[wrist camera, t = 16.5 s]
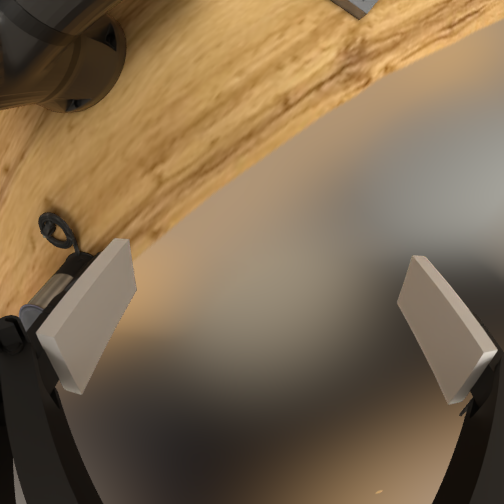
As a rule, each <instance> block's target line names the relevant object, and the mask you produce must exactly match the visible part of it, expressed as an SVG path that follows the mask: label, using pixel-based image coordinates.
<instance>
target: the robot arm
mask: <svg viewBox="0 0 504 504" xmlns="http://www.w3.org/2000/svg"><path fill="white" fill-rule="evenodd" d="M121 1H123V0H0V110H4V109H9V108H14V107H19V106H25V105H31V104H37V105H40V106H42V107H44V108H47V109H49V110H52V111H55V112H60V113H69V112H76V111H81V110H84V109H87V108H89V107H91V106H93V105H94V104H96V103H97V102H99V101H100V100H101V99H102V98H103V97H104V96H105V95H106V94H107V93H108V92H109V91H110V90H111V88H112V87H113V86H114V84H115V83H116V81H117V79H118V77H119V75H120V73H121V70H122V68H123V65H124V61H125V55H126V40H125V36H124V32H123V30H122V28H121V26H120V25H119V23H118V22H117V21H116V20H115V19H114V18H113V17H111V16H110V15H108V14H106V13H107V12H108V11H110V10H111V9H112V8H113V7H115V6H116V5H117V4H119V3H120V2H121ZM136 290H137V288H136V282H135V277H134V271H133V263H132V256H131V249H130V242H129V239H119V238H114V239H113V240H112V241H111V243H110V244H109V245H108V246H107V247H106V248H105V249H104V250H103V251H102V252H101V254H100V255H99V256H98V257H97V258H96V259H95V260H94V261H93V263H92V264H91V265H90V266H89V267H88V268H87V269H86V271H85V272H84V273H83V274H82V275H81V276H80V278H79V279H78V280H77V281H76V282H75V284H74V285H73V286H72V287H71V288H70V290H69V291H66V290H64V291H62V292H61V293H59V294H58V295H56V296H55V297H54V298H53V299H52V300H51V301H50V302H49V304H48V305H47V307H45V309H44V310H43V311H42V313H41V314H40V315H39V316H38V317H37V319H36V320H35V321H34V322H33V324H32V325H31V326H30V328H29V329H28V330H27V332H26V331H25V328H24V326H23V324H22V322H21V319H20V318H19V317H17V316H13V315H9V316H5V317H2V318H0V504H16V500H15V489H14V474H13V458H14V463H15V467H16V470H17V474H18V478H19V481H20V484H21V488H22V491H23V494H24V497H25V500H26V503H27V504H103V502H102V500H101V498H100V496H99V495H98V493H97V491H96V489H95V487H94V485H93V483H92V480H91V478H90V476H89V474H88V472H87V470H86V467H85V466H84V463H83V461H82V458H81V456H80V453H79V451H78V449H77V446H76V444H75V441H74V439H73V436H72V433H71V430H70V428H69V425H68V422H67V419H66V416H65V413H64V410H63V407H62V404H61V400H60V398H59V394H58V391H57V390H56V388H55V386H56V384H57V382H58V380H60V382H61V384H62V386H63V387H64V389H65V390H67V391H71V392H75V393H78V394H83V392H84V389H85V387H86V385H87V383H88V381H89V379H90V377H91V375H92V373H93V371H94V369H95V367H96V365H97V363H98V361H99V359H100V357H101V355H102V353H103V351H104V349H105V347H106V345H107V343H108V341H109V339H110V338H111V336H112V334H113V332H114V330H115V328H116V326H117V324H118V322H119V321H120V319H121V317H122V315H123V313H124V312H125V310H126V308H127V306H128V304H129V303H130V301H131V299H132V297H133V296H134V294H135V292H136ZM397 304H398V306H399V308H400V309H401V311H402V313H403V315H404V317H405V318H406V320H407V322H408V324H409V326H410V328H411V329H412V331H413V333H414V335H415V337H416V339H417V341H418V343H419V345H420V347H421V348H422V351H423V353H424V355H425V356H426V359H427V361H428V363H429V365H430V367H431V369H432V371H433V373H434V375H435V377H436V379H437V381H438V384H439V386H440V388H441V390H442V392H443V394H444V396H445V399H446V401H447V403H448V405H449V404H453V403H458V402H462V401H463V400H464V398H465V397H466V396H467V395H468V393H469V392H470V391H471V393H472V395H473V398H472V399H471V400H470V402H469V403H468V404H467V405H466V407H465V408H464V409H463V410H462V412H461V413H460V415H459V416H462V415H463V414H464V413H465V412H466V411H467V412H466V416H465V419H464V423H463V426H462V429H461V432H460V436H459V439H458V441H457V444H456V448H455V450H454V453H453V456H452V459H451V461H450V464H449V466H448V469H447V471H446V474H445V476H444V478H443V481H442V483H441V485H440V488H439V490H438V492H437V494H436V497H435V499H434V501H433V503H432V504H504V352H503V350H502V349H501V348H500V346H499V345H498V343H497V342H496V340H495V339H494V337H493V336H492V335H491V333H490V332H488V329H487V328H486V326H484V324H483V322H482V321H481V319H480V318H479V317H478V316H477V315H476V314H475V313H474V312H472V311H471V310H470V309H468V308H467V306H466V305H465V304H464V303H463V301H462V300H461V299H460V298H459V296H458V295H457V294H456V292H455V291H454V290H453V289H452V288H451V286H450V285H449V284H448V283H447V281H446V280H445V279H444V278H443V277H442V276H441V274H440V273H439V272H438V271H437V270H436V268H435V267H434V266H433V265H432V264H431V263H430V262H429V260H428V259H427V258H426V257H425V256H412V258H411V261H410V265H409V268H408V271H407V274H406V278H405V280H404V283H403V287H402V289H401V292H400V295H399V298H398V301H397Z"/></svg>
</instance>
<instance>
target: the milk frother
mask: <svg viewBox="0 0 504 504" xmlns="http://www.w3.org/2000/svg"><path fill="white" fill-rule="evenodd" d="M45 222H46V223H45ZM44 223H45V225H44ZM38 224H39V227H40V230H41V231H40V232H41V234H43V238H45V237H46V239H47V240H48V241H49V242H50V243H52V244H53V245H54V246H56V247H59V248H64V249H67V248H69V247H71V246H72V244H73V246H74V249H75V252H76V253H72V254H71V255H69V256H68V257H67V259H66V261H65V263H64V264H63V265H62V266H61V267H60V269H59V270H58V271H57V272H56V273H55V274H54V275H53V276H52V277H51V278H50V279H49V280H48V282H47V283H46V284H45V285H44V286H43V287H42V288H41V289H40V290H39V291H38V292H37V293H36V295H35V296H34V297H33V298H32V299H31V300H30V301H29V303H28V304H26V305H23V306H22V307H21V309H20V311H19V318H20V319H21V322H22V324H23V326H24V328H25V331H26V332H27V330H28V329H29V328H30V326H31V325H32V324H33V322H34V321H35V320H36V319H37V317H38V316H39V315H40V314H41V313H42V311H43V310H44V309H45V307H47V305H48V304H49V302H50V301H51V300H52V299H53V298H54V297H55V296H56V295H58V294H59V293H61V292H62V291H64V290H66V291H69V290H70V288H71V287H72V286H73V285H74V284H75V282H76V281H77V280H78V279H79V278H80V276H81V275H82V274H83V273H84V272H85V271H86V269H87V268H88V267H89V266H90V265H91V264H92V263H93V261H94V260H95V259H96V258H97V257H98V256H99V255H100V254H101V252H98V253H97V254H96V255H95V256H94V257H93V256H92V255H90V254H88V253H84V252H80V251H79V248H78V245H77V242H76V239H75V237H74V234H73V232H72V230H71V229H70V227H69V226H68V224H67V223H66V222H65V221H64V220H63V219H62V218H60V217H59V216H57V215H56V214H53V213H43V214H42V215H41V216H40V217H39V221H38ZM55 224H57V225H58V226H59V227H61V228H62V230H63V231H64V233H65V235H66V238H67V241H59V240H56V239H55V238H53V237H52V236H51V235H52V233H53V232H54V231H55V229H56V227H55Z"/></svg>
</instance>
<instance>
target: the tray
mask: <svg viewBox="0 0 504 504" xmlns="http://www.w3.org/2000/svg"><path fill="white" fill-rule="evenodd" d="M331 1H332V2H334V3H335V4H337V5H338V6H340V7H341V8H343V9H344V10H346V11H347V12H348V13H350V14H351V15H353V16H354V17H356V18H357V19H358V20H360V19H361V18H362V17H363V16H365V15H366V14H367V13H368V12H369V11H370V10H371V8H372V7H373V6H374V5H375V3H376V2H377V1H378V0H331Z"/></svg>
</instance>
